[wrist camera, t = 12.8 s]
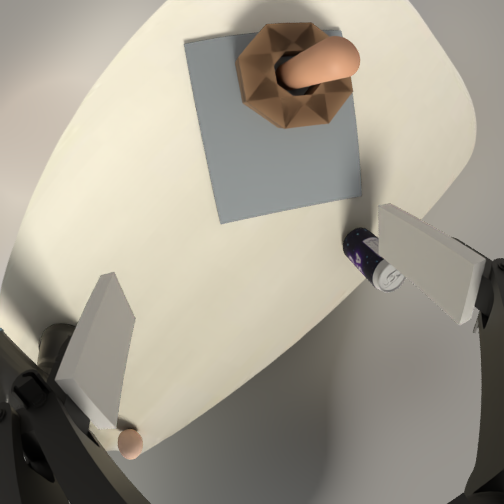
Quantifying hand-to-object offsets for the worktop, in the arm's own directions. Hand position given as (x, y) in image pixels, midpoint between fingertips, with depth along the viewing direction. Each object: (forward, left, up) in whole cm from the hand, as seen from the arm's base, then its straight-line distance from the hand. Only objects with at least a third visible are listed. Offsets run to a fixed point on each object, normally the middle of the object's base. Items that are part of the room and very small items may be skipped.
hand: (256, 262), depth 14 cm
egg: (-38, -57, -29) cm, 74 cm away
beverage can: (+19, -16, -29) cm, 38 cm away
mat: (+9, +5, -29) cm, 30 cm away
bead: (+11, +11, -28) cm, 32 cm away
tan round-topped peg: (+11, +11, -28) cm, 32 cm away
